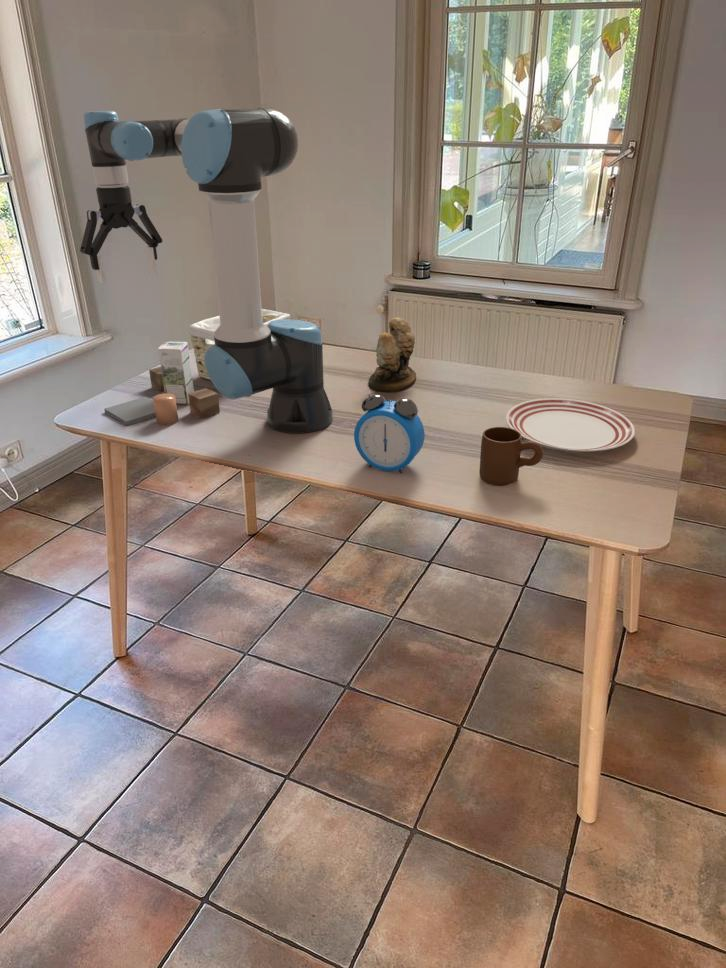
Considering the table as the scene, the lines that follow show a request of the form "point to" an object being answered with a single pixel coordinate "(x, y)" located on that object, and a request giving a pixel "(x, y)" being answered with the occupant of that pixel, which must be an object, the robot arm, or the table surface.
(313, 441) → the table surface
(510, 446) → the mug
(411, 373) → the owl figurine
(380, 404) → the alarm clock
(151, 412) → the slate tile
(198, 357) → the storage basket
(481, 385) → the table surface
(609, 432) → the dinner plate
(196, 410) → the walnut block
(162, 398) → the terracotta cylinder
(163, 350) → the syrup box
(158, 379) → the dark oak block
